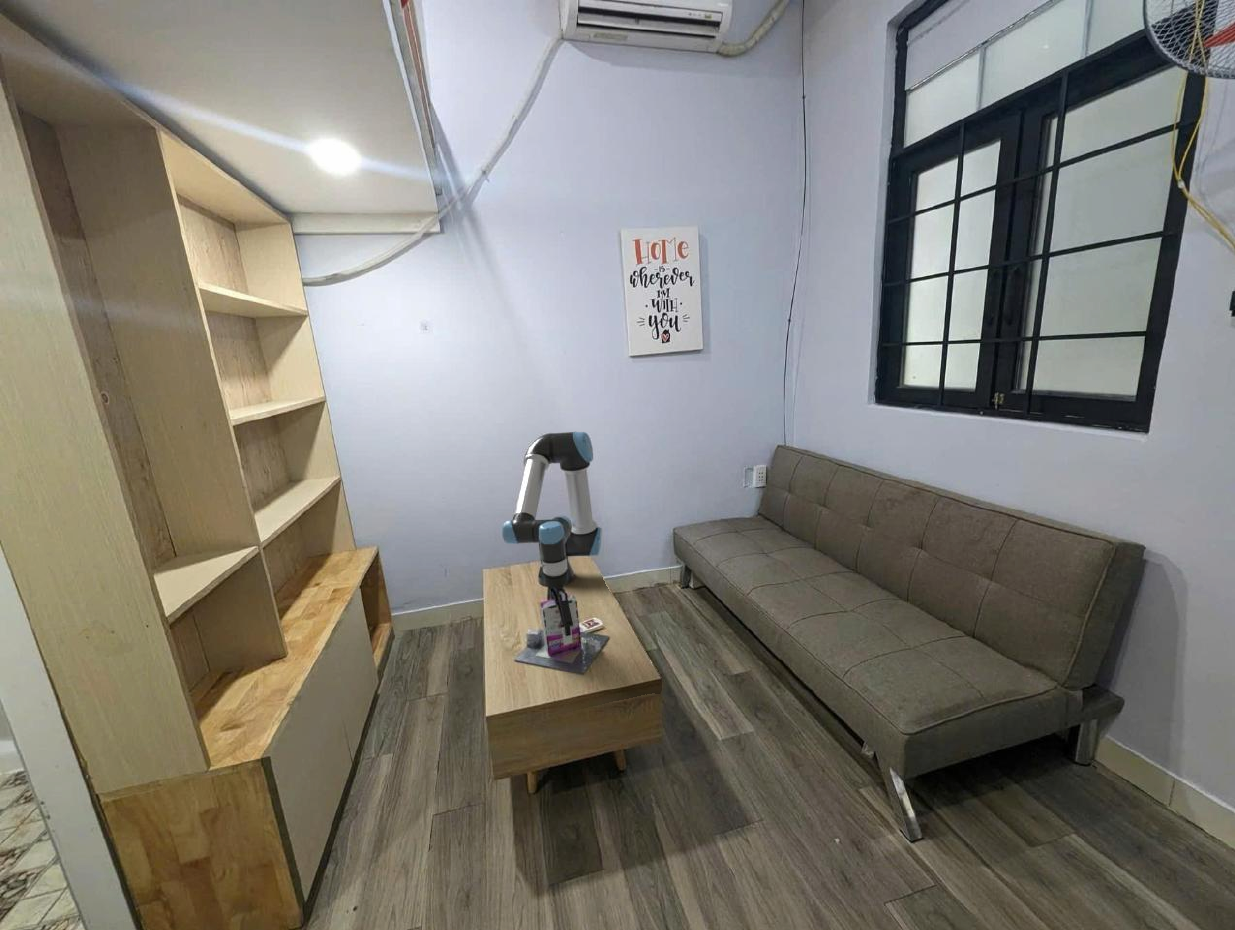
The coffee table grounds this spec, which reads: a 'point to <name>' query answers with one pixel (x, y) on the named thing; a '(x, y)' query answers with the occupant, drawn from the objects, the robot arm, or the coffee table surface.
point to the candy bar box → (559, 626)
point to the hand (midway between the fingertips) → (561, 632)
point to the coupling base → (562, 652)
